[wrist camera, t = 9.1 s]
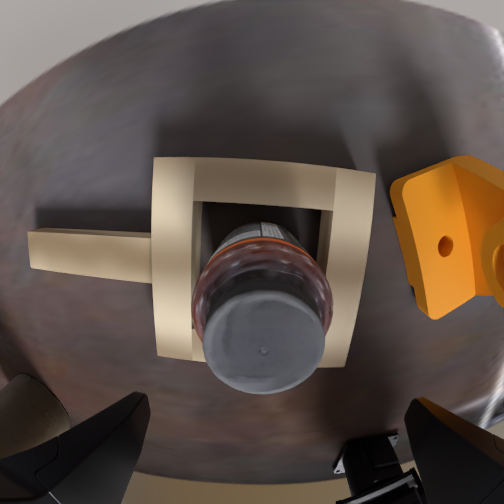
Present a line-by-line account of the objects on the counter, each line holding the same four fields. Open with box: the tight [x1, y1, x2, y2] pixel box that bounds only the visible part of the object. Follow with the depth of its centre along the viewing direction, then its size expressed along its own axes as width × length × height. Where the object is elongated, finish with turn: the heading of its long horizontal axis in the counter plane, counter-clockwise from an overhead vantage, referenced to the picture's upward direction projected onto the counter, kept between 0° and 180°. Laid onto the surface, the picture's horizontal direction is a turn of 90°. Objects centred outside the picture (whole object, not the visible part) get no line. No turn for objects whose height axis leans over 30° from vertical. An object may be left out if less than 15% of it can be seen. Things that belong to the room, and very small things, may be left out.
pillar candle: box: [0, 374, 70, 459], centre depth 17 cm, size 10×10×15 cm
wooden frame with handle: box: [28, 157, 376, 367], centre depth 18 cm, size 13×25×3 cm, turn 86°
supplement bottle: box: [191, 221, 334, 394], centre depth 14 cm, size 6×6×11 cm
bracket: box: [390, 155, 504, 319], centre depth 13 cm, size 11×7×12 cm, turn 23°
